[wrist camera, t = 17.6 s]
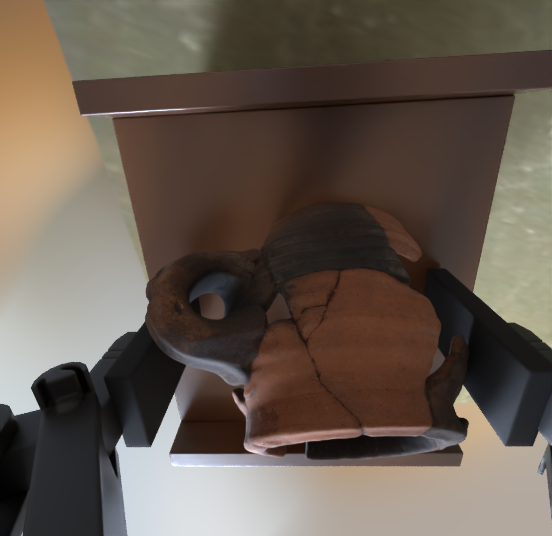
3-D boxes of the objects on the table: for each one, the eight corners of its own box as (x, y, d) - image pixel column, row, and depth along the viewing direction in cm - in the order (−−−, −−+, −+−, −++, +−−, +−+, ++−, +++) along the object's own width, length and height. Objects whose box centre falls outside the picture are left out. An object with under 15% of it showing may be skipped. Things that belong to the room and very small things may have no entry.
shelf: (402, 96, 23) (569, 48, 9) (382, 312, 30) (460, 466, 16) (196, 108, 24) (70, 80, 10) (224, 316, 31) (172, 466, 17)
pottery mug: (468, 222, 14) (579, 435, 9) (345, 317, 21) (370, 466, 16) (188, 115, 10) (112, 398, 5) (151, 277, 17) (104, 462, 12)
